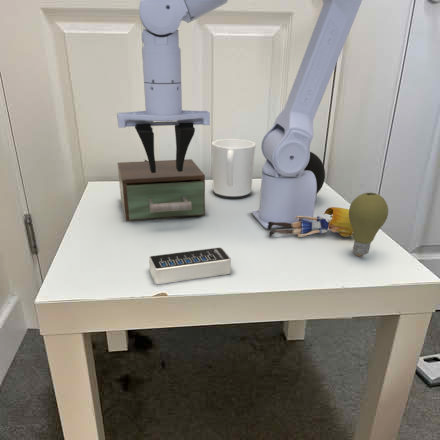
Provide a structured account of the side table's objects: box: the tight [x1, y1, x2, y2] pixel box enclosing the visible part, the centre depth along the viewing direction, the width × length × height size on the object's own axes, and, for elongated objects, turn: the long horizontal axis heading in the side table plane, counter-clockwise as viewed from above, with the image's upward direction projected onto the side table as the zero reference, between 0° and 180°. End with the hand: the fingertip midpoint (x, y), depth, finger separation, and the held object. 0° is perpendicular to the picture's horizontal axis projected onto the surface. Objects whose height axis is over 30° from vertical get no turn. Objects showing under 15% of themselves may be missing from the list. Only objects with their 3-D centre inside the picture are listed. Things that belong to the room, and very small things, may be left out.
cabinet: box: [117, 158, 206, 222], centre depth 86 cm, size 12×15×8 cm
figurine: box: [267, 206, 353, 238], centre depth 76 cm, size 5×5×15 cm
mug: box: [211, 138, 257, 200], centre depth 93 cm, size 11×9×10 cm
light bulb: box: [348, 192, 389, 258], centre depth 68 cm, size 6×6×10 cm
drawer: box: [126, 180, 204, 220], centre depth 82 cm, size 15×13×6 cm
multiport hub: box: [148, 247, 232, 285], centre depth 64 cm, size 4×11×2 cm, turn 109°
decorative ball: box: [304, 151, 326, 195], centre depth 91 cm, size 10×10×10 cm
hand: (166, 170), depth 76 cm, fingers open, 4 cm apart
